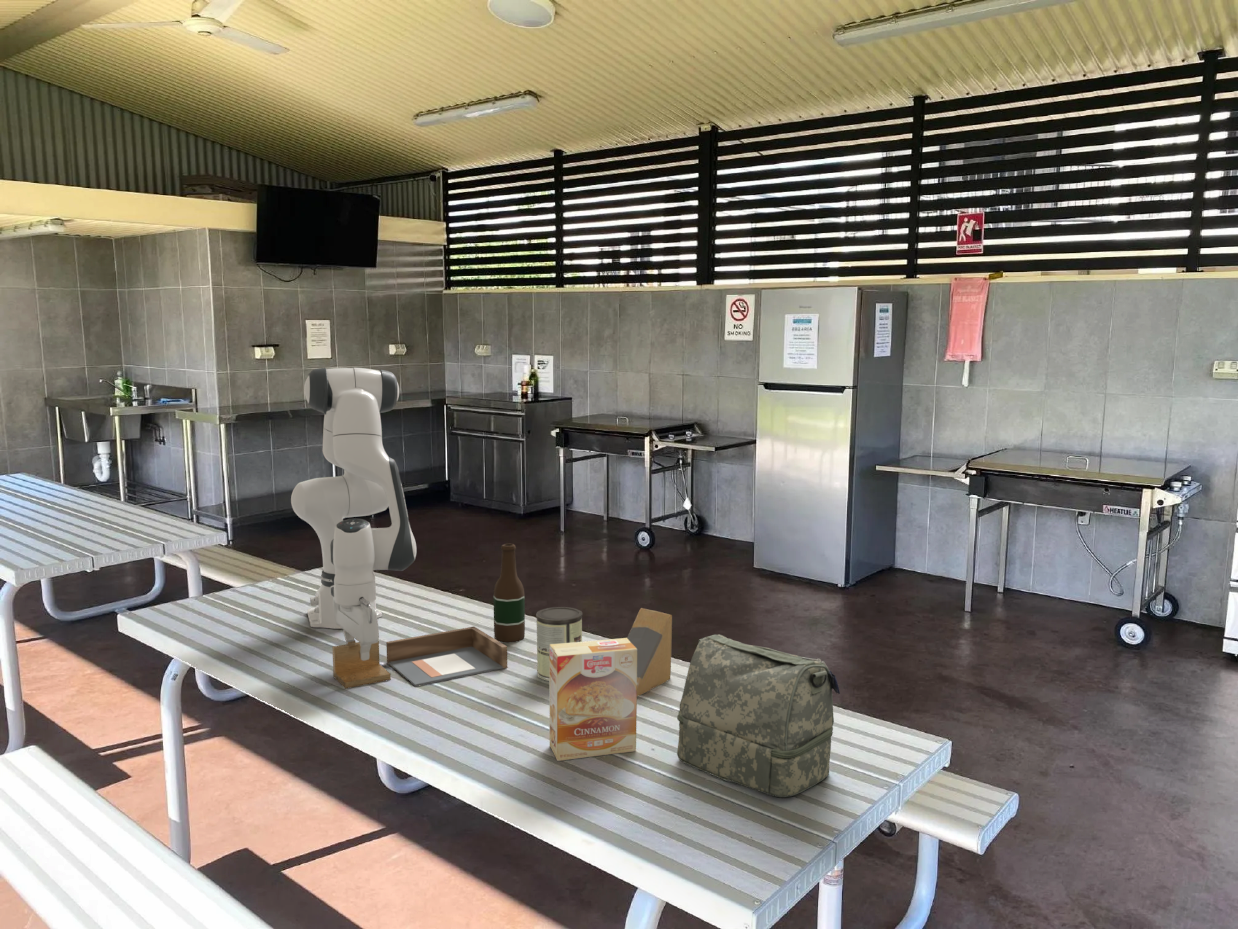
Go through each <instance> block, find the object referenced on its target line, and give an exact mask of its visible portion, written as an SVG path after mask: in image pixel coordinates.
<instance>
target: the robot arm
mask: <svg viewBox="0 0 1238 929" xmlns="http://www.w3.org/2000/svg"><path fill="white" fill-rule="evenodd" d="M397 379H398V378H397V376H396V375H395V374H394V373H393V372H391V371H390V370H385V369H379V370H378V369H374V368H373V369H372V368H367V367H366V368H365V367H335V368H326V367H321V368H319V367H318V368H315V369H312V370H310V372H309V373H308V375H307V378H306V379H305V382H304V387H303V393H304V398H305V400H306V402H307V405H308V406H309V407H310V408H311V409H312V410H314V411H316V412H320V413H322V414H323V415H324V417H323V431H322V432H323V433H322V455H323V456H324V458H325V459H326V461H328V462H329V463H330V464H332V465H333V466H336V467H339V468H341V469H342V470H343V472H344V473H343V474H342V475H339V476H325V477H315V478H311V479H308V480H304V481H300V482H298V483H297V484H296V485H295V486H294V488H293V490H292V493H291V496H290V497H291V498H290V503H291V508H292V510H293V512H294V513H295V515H296V516H298V518H300V519H301V520H302V521H304V522H306V523H307V524H309V525H310V526H311V528H312V529H313V530H314V531H315V534H316V535H317V536H318V540H319V542H320V547H321V548H320V549H321V554H322V570H321V576H320V583H321V584H320V587H319V588H318V589H317V591H316V592H315V596H311V597H310V598H309V602H310V603H309V604H310V606H311V608H308V609H307V616H308V620H309V621H308V622H309V626H310V627H311V628H325V629H326V628H327V629H333V630H334V629H335V630H337V629H342V630H343V631H342V633H343V636H344V639H345V644H351V643H357V642H360V646H361V649H360V651H359V658H360V659H361V660H363V661H364V660H368V659H369V651H370V648H371V644H374V643H377V642H378V641H379V638H380V631H379V630H380V629H379V620H378V619H379V618H381V617H383V614H382V611H380V610H377V602H376V601H377V593H376V592H377V590H376V574H375V573H374V571H380V570H381V571H383V570H387V571H398V572H403V571H404V570H406V569H408V568H409V567H410V566H412V564H413V563H414V562H415V561H416V557H417V543H416V539H415V536H414V534H413V532H412V531H413V530H412V528H411V523H410V520H409V519H410V517H409V514H408V513H409V512H408V509H407V504H406V497H405V492H404V489H403V485H402V484H403V483H402V479H401V475H400V470H399V467H398V465H397V462H396V460H395V459H394V458H391V457H389V455H388V454H387V452H386V450H385V448H384V445H383V431H382V430H383V428H382V419H381V413H386V412H390V411H392V410H393V409H394V408H396V406H397V404H398V403H397V402H398V400H399V396H400V386H399V383H398V380H397ZM387 509H389V516H390V521H391V525H390V526H389V527H378V528H377V527H371V523H370V522H369V521H367V520H366V519H363V518H356V517H366V516H371V515H375V514H378V513H382V512H384V511H386V510H387ZM354 517H355V518H354ZM346 518H348V519H346ZM356 641H357V642H356Z"/></svg>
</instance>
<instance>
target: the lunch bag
mask: <svg viewBox="0 0 1238 929" xmlns="http://www.w3.org/2000/svg"><path fill="white" fill-rule="evenodd" d="M833 691H834V692H835V693H836V694H838V695H839V694H841V693H840V687H839V683H838V680H837V677H836V675H835V674H834V673H833V672H832V671H831V670H830V669H829V667H828V666H827V664H826V662H825V661H824V660H823V661H822V660H821V659H820V658H817V659H816V658H809V657H804V656H800V655H797V654H791V653H788V652H784V651H780V650H776V649H773V648H771V647H766V646H765V647H764V646H759V645H751V644H747V643H743V642H741V641H737V640H733V639H732V638H727V637H726V636H725V635H722V634H712V635H708V636H705V637H702V638H700V639H698V644H697V646H696V647H695V650H694V652H693V654H692V657H691V660H690V663H689V667H688V670H687V674H686V678H685V683H684V686H683V692H682V694H681V699H680V703H679V711H678V714H677V716H676V717H677V721H678V727H679V728H678V743H677V752H676V756H677V758H678V759H679V760H680V761H681V762H682V763H684V764H687V765H689V766H691V767H693V768H695V769H698V770H700V771H702V772H705V773H707V774H709V775H712V776H715V777H717V778H719V779H720V780H724V781H727V782H732V783H735V784H737V785H741V786H743V787H746V788H749V789H752V790H754V791H758V792H762V793H764V794H766V795H768V796H769V795H770V796H773V797H776V798H785V797H792V796H796V795H798V794H801V793H803V792H805V791H807V790H808V789H810V788H812V787H814V786H815V785H817V784H818V783H820V782H822V781H823V780H824V779H825V778H827V777H828V776H829V775H830V762H831V752H832V751H831V749H832V737H833V733H834V732H833V730H834V727H833V726H834V722H835V720H834V719H835V718H834V699H833Z"/></svg>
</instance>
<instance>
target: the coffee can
mask: <svg viewBox="0 0 1238 929" xmlns="http://www.w3.org/2000/svg"><path fill="white" fill-rule="evenodd" d="M535 616H536V617H535V618H536V649H537V650H536V652H537V653H536V660H537V665H536V666H537V671H536V674H537V677H538V679H540V680H543V681H547V682H549V676H550V664H549V646H550V644H560V643H572V642H583V612H582V610H581V609H578V608H575V607H568V606H567V607H566V606H552V607H547V608H543V609H540V610H538V611H537V612H536V614H535Z"/></svg>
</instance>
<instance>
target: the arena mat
mask: <svg viewBox="0 0 1238 929" xmlns="http://www.w3.org/2000/svg"><path fill="white" fill-rule="evenodd" d="M388 665H389V666H390V667H392V668H393V669H394V670H395V671H396V670H397V671H396V672H397V673H398V674H400V675H401V676H402V675H403V676H402V677H403V678H404V677H405V678H404V679H406V680H407V681H408V680H409V681H410V682H411V683H410V682H409V681H408V682H409V683H410V684H411V685H412V686H414V687H415V686H416V687H420V686H419V685H421V686H425V685H426V686H427V685H430V684H429V683H431V684H435V683H440V682H443V680H445V681H448V680H449V679H450V680H454V679H453V678H455V679H458V678H463V677H468V676H473V675H478V674H482V673H483V674H484V673H487V672H493V671H497V670H501V669H502V670H503V669H504V668H503V666H501V665H500V664H498V663H497V662H495V661H493V660H492V659H490V658H489V657H487V656H486V655H484V654H483V653H481V652H480V651H478V650H477V649H475V648H474V647H466V648H461V649H456V650H451V651H445V652H440V653H435V654H429V655H424V656H419V657H413V658H408V659H403V660H398V661H392V662H389V664H388Z"/></svg>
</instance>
